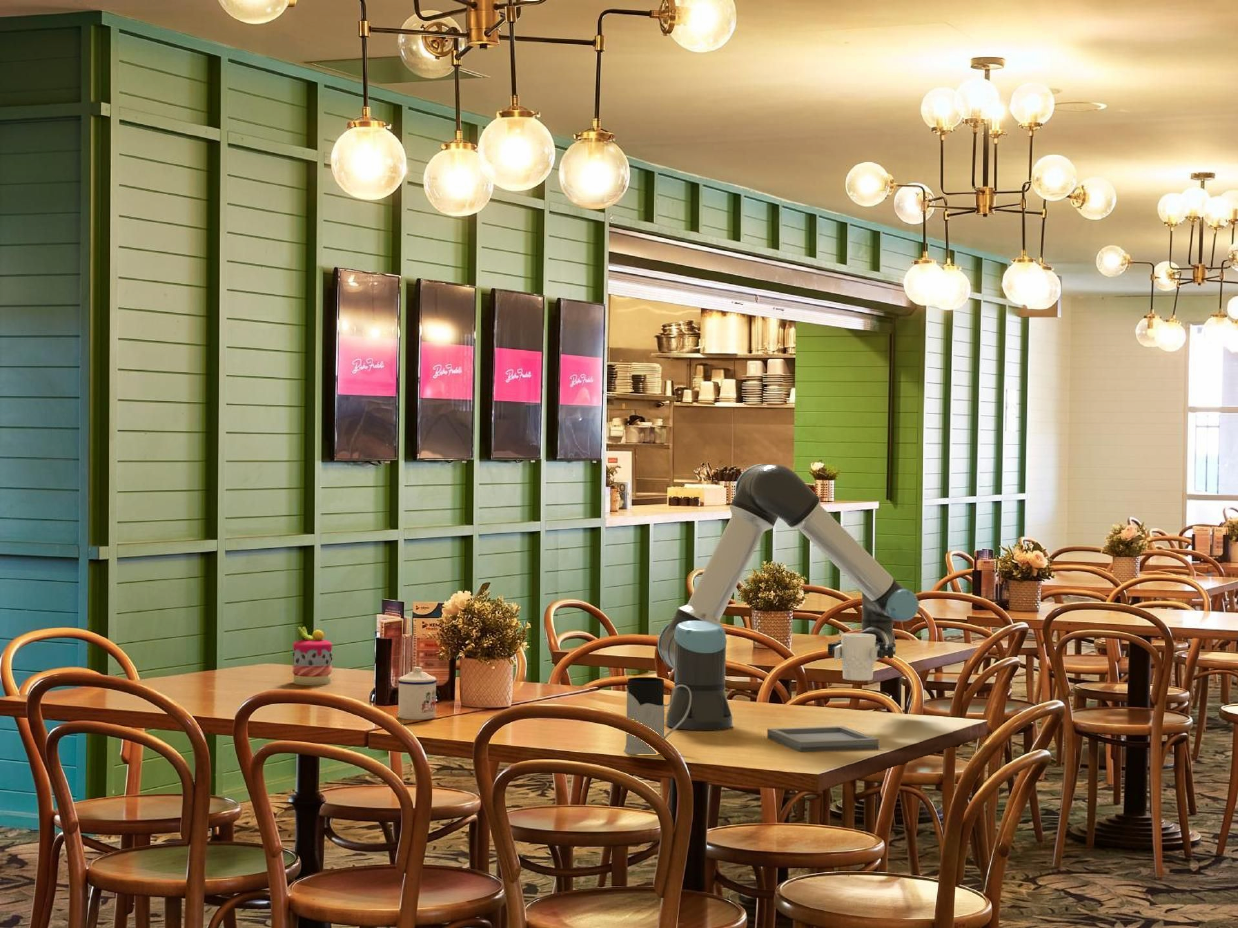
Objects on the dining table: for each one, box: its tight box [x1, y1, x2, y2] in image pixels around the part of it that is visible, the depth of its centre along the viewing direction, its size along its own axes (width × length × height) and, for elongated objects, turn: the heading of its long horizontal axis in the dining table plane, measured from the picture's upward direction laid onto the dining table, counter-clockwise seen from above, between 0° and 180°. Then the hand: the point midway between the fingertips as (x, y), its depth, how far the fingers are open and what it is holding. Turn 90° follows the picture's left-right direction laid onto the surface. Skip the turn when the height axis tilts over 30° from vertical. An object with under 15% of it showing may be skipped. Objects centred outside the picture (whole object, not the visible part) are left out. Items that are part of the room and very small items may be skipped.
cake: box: [292, 626, 333, 686], centre depth 429 cm, size 10×11×15 cm
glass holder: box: [623, 676, 692, 755], centre depth 330 cm, size 9×14×15 cm, turn 103°
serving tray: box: [766, 725, 880, 753], centre depth 343 cm, size 18×18×2 cm
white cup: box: [840, 632, 876, 682], centre depth 361 cm, size 8×8×10 cm
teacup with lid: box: [397, 666, 438, 721], centre depth 373 cm, size 12×9×12 cm
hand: (854, 654), depth 356 cm, fingers closed on white cup, 8 cm apart
